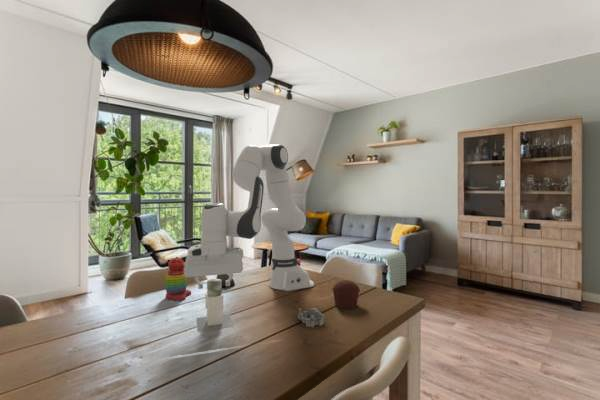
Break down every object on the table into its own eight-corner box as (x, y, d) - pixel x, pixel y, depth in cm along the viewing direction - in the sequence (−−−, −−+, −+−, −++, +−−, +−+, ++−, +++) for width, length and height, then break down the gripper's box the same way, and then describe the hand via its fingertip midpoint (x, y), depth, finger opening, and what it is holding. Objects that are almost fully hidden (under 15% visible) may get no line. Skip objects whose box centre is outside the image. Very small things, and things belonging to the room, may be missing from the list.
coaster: (229, 315, 121) (229, 313, 121) (233, 328, 109) (233, 326, 109) (196, 319, 117) (196, 318, 117) (197, 333, 106) (197, 331, 106)
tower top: (219, 304, 116) (219, 291, 116) (223, 309, 112) (223, 295, 112) (205, 307, 114) (205, 293, 114) (209, 312, 110) (209, 297, 109)
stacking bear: (183, 300, 137) (183, 260, 137) (160, 300, 137) (159, 260, 137) (192, 293, 148) (192, 255, 148) (171, 292, 148) (170, 255, 148)
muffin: (350, 299, 139) (350, 276, 139) (365, 307, 129) (365, 283, 128) (327, 303, 134) (327, 279, 134) (340, 312, 124) (340, 286, 124)
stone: (226, 289, 165) (212, 277, 163) (238, 278, 164) (223, 266, 163) (223, 298, 155) (208, 286, 154) (235, 286, 155) (220, 273, 153)
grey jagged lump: (296, 317, 119) (296, 307, 119) (314, 315, 122) (314, 304, 122) (306, 329, 109) (306, 317, 109) (326, 325, 112) (326, 314, 112)
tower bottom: (221, 318, 116) (221, 305, 116) (222, 323, 112) (222, 309, 112) (207, 320, 115) (206, 306, 115) (207, 325, 110) (207, 311, 110)
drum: (221, 291, 116) (220, 278, 116) (222, 295, 111) (222, 281, 111) (206, 293, 114) (206, 279, 114) (207, 297, 110) (207, 283, 110)
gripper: (241, 245, 119) (242, 281, 119) (184, 248, 112) (184, 287, 113) (244, 248, 113) (244, 286, 113) (183, 251, 106) (184, 292, 107)
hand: (214, 287), depth 113 cm, fingers open, 8 cm apart
